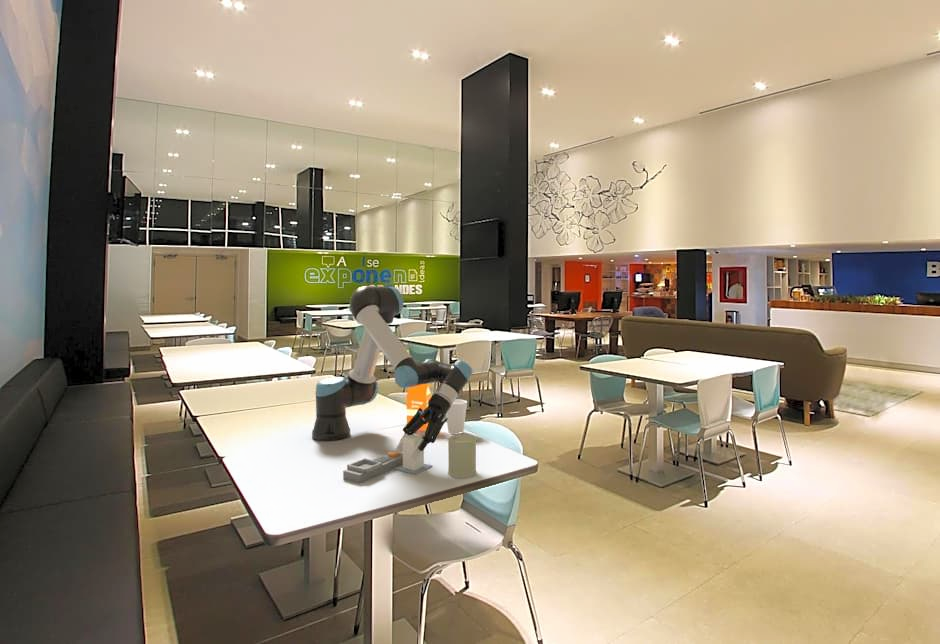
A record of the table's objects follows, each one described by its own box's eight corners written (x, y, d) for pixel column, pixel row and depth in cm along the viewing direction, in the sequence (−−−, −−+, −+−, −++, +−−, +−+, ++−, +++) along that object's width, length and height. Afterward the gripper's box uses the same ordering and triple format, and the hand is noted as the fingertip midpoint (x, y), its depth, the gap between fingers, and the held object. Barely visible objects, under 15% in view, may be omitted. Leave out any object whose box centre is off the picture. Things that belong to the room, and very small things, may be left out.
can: (447, 468, 169) (447, 433, 168) (474, 468, 169) (475, 432, 169) (448, 478, 159) (448, 441, 159) (477, 478, 160) (477, 440, 159)
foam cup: (464, 435, 208) (464, 404, 207) (442, 434, 210) (442, 403, 209) (468, 429, 217) (468, 399, 217) (447, 428, 219) (447, 398, 218)
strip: (342, 478, 160) (342, 466, 159) (392, 457, 180) (392, 447, 180) (360, 483, 155) (360, 471, 155) (409, 461, 176) (409, 451, 176)
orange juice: (426, 430, 217) (426, 383, 216) (406, 429, 218) (406, 383, 217) (431, 425, 224) (431, 380, 223) (412, 424, 226) (411, 380, 225)
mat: (394, 469, 168) (394, 468, 168) (411, 461, 175) (411, 460, 175) (415, 474, 163) (415, 473, 163) (432, 466, 171) (432, 465, 171)
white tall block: (402, 467, 169) (402, 437, 168) (412, 463, 173) (412, 434, 172) (414, 470, 166) (414, 440, 165) (423, 466, 170) (423, 436, 169)
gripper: (468, 410, 171) (430, 468, 161) (430, 401, 186) (393, 453, 176) (456, 397, 167) (417, 456, 157) (418, 388, 182) (380, 441, 172)
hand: (404, 454), depth 167 cm, fingers open, 8 cm apart
